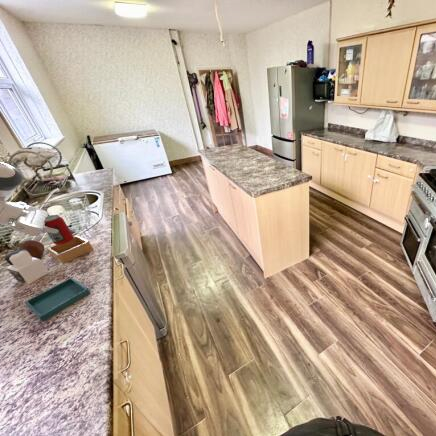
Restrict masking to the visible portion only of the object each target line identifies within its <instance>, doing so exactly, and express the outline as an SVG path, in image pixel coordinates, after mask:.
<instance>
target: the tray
mask: <svg viewBox="0 0 436 436" xmlns="http://www.w3.org/2000/svg"><path fill="white" fill-rule="evenodd" d="M90 294H91V291H90V290H89V288H87V287H86V286H84V285H83V284H82V283H81V282H79V281H77V279H75V278H73V277H72V276H71V277H69V278H67V279H65V280H63V281H61V282H60V283H57V284H55V285H53V286H52V287H50V288H48V289H46V290H44V291H43V292H41V293H38V294H36V295H35V296H33V297H31V298H29V299H27V300H26V301H24V304H25V305H26V306H27V307H28V308H29V309H30V310H31V311H32V312H33V314H34V315H35V316H36V317H37V318H39V320H40V321H41V322H42V323H44V322H46V320H49V319H50V318H52V317H54V316H55V315H57V314H58V313H60V312H62V311H63V310H65V309H66V308H69V307H70V306H72V305H74V304H76V303H77V302H78V301H80V300H82V299H83V298H85V297H87V296H88V295H90Z"/></svg>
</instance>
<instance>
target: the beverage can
mask: <svg viewBox="0 0 436 436" xmlns="http://www.w3.org/2000/svg"><path fill="white" fill-rule="evenodd" d="M44 222H45V225H44V226H47V227H49V228H57V229H59V230H58V232H57V233H56V234H55V233H46V234H47V236H48V237H49V238H50V240H51V241H52V243H53V244H54V245H63V244H66V243H68V242H70V241H72V239H73V238H74V237H75V236H74V235H73V233H72V231H71V229H70V228H69V226H68V225H67V223H66V221H65V220H64V218H63V217H61V216H59V215H58V214H54V215H53V214H52V215H48V217H46V219H45V221H44Z"/></svg>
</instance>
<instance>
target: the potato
mask: <svg viewBox="0 0 436 436" xmlns="http://www.w3.org/2000/svg"><path fill="white" fill-rule="evenodd" d="M18 250H27V251H28V252H29V253H30V255H31V256H32V257H33V258H37V259H40V258H41V257H42V256H43V255H44V252H45V245H44V243H42V242H41V241H39V240H36V239H28V240H25V241H23V242H22V243H21V244H20V246H19V249H18Z"/></svg>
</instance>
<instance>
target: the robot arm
mask: <svg viewBox="0 0 436 436" xmlns="http://www.w3.org/2000/svg"><path fill="white" fill-rule="evenodd" d="M23 179H24V178H23V175H22V173H21V172H20V171H19V169H17V168H15V167H14V166H12V165H10V164H7V163H4V162H1V161H0V226H1V225H2V226H5V227H9V228H12V229H13V230H14V231H16V232H19V233H21V234H25V235H28V236H33V237H39V236H40V235H41V234H42V233H46V234H47V233H55V234H56V233H57V232H58V230H59V229H57V228H49V227H47V226H44V225H45V222H44V221H45V219H46V217H49V214H50V213H49V212H48V211H46V210H44V209H41V208H38V207H36V206H32V205H28V204H27V203H26V202H23V201H18V202H17V201H16V202H11V201H9V199H10V198H11V197H12V195H13V194H14V193H15V191H16V189H17V188H18V187H19V186H20V185H21V184H22V183H23Z"/></svg>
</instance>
